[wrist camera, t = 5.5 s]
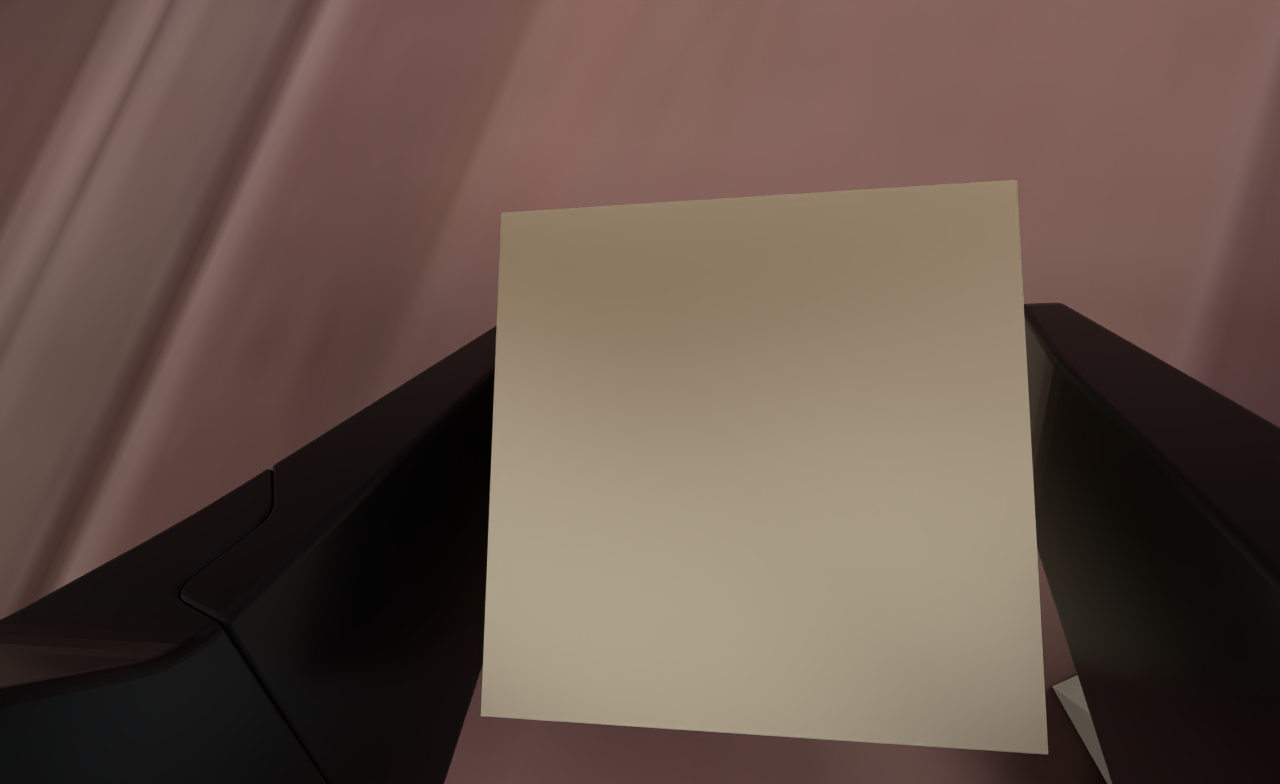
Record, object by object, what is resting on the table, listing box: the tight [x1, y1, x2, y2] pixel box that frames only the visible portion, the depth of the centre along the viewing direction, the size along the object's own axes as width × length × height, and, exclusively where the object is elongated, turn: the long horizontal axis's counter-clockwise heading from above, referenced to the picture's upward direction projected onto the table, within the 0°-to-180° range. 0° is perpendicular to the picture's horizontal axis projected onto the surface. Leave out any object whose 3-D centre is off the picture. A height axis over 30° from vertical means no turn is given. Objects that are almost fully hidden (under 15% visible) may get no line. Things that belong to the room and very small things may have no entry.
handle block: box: [481, 180, 1048, 754], centre depth 11 cm, size 4×4×10 cm
